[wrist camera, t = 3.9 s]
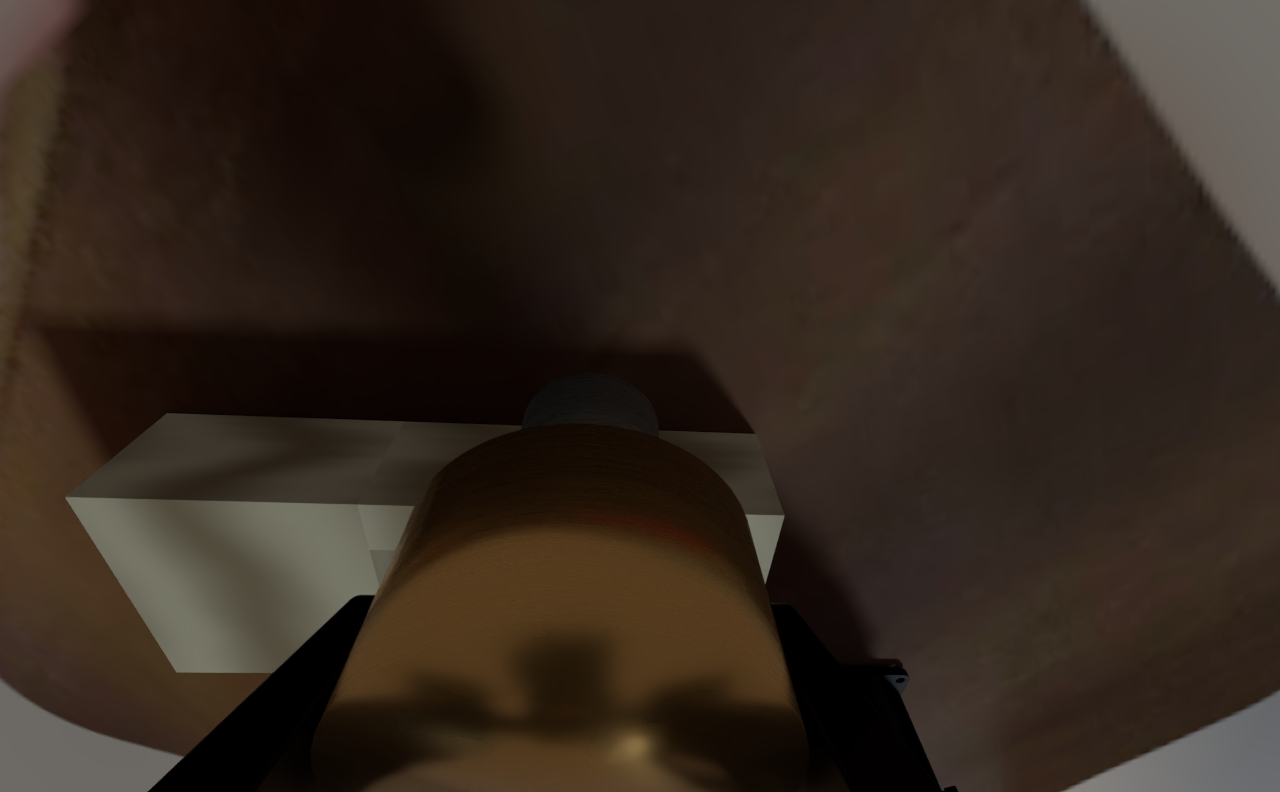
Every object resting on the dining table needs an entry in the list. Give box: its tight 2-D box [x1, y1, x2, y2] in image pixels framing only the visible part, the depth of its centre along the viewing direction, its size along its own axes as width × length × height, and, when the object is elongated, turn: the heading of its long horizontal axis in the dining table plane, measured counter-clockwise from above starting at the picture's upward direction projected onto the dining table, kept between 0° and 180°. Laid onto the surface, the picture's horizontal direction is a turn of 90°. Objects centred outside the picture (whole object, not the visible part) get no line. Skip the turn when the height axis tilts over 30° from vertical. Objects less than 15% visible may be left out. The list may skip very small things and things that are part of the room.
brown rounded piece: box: [311, 372, 810, 792], centre depth 10 cm, size 6×6×8 cm
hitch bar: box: [65, 413, 785, 673], centre depth 22 cm, size 22×9×4 cm, turn 86°
